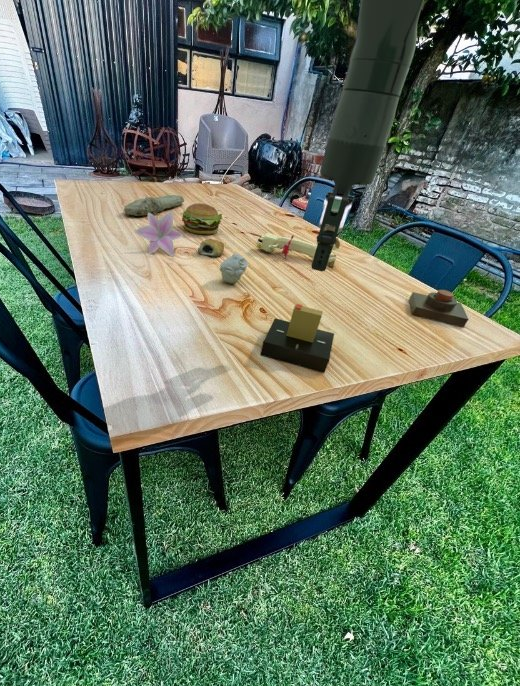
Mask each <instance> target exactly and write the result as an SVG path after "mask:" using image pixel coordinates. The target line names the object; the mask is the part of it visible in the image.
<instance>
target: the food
mask: <svg viewBox="0 0 520 686" xmlns="http://www.w3.org/2000/svg"><path fill="white" fill-rule="evenodd" d="M180 215H182V218H181V221H182V222H183V224H184V225H183V228H184V229H185V230H186V231H187V232H189V233H192V234H196V235H206V236H207V235H209V236H210V235H214V234H216V233H218V231H219V226H220V224H221V222H222V220H223V219H222V218H223V216H222V215H223V213H219V211H218V210H217V209H216V207H214V206H212V205H210V204H206V203H198V202H197V203H193V204H190V205H188V206H187V207H186V209H185V210H183V213H182V212H180Z"/></svg>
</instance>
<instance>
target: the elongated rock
mask: <svg viewBox="0 0 520 686" xmlns="http://www.w3.org/2000/svg"><path fill="white" fill-rule="evenodd" d="M183 203H185V198H184V196H183V195H177V194H172V195H171V194H167V195H164V196H163V195H162V196H157V197H153V196H145V198H140V199H137V200H134V201H133V202H130V203H128V204H126V205H124V207H123V212H124V214H126V215H129V216H130V215H131V216H135V217H139V216H148V213H151V214H152V215H154V216H155V215H156V214H158V212H163V211H164V210H165V209H171V208H175V207H179V206H180V205H183Z"/></svg>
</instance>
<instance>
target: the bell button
mask: <svg viewBox="0 0 520 686" xmlns="http://www.w3.org/2000/svg"><path fill="white" fill-rule="evenodd" d="M436 293H437V294H436V295H435V298H437V299H439V300H441V301H445V302H450V301H451V299H452V298H454V296H455V294H454V293H453V292H451V291H449V290H446V289H438V290H437V292H436Z"/></svg>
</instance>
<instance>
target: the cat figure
mask: <svg viewBox="0 0 520 686" xmlns="http://www.w3.org/2000/svg"><path fill="white" fill-rule="evenodd" d="M294 237H295V234H292V235H291V237H287V236H279V235H277V234H274V233H271V232H266V233H265V235H261V236H259V238H258V239H257V241H256V242H255V245H256V247H257V248H258V249H261V250H263V251H265V252H267V253H272V252H274V251H275V249H279V250H282V251H281V253H282V254H283V255H284V258H285V259H287V255H288V254H289V252H296V253H299V254H303V255H306V256H308V257H309V258H313V259H314V255H315V251H316V248H317V244H314V243H310V242H307V241H303V240H300V239H297V238H294ZM336 239H337V240H336V243H335V244H334V246H333V248H332V251H337V250H338V249H340V246H341V242H340V239H339V237H336ZM337 255H338V254H337V253H331V254H330V257H329V260H328V263H330V264H329V267H330V268H334V265H335V263H336V260H337Z"/></svg>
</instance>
